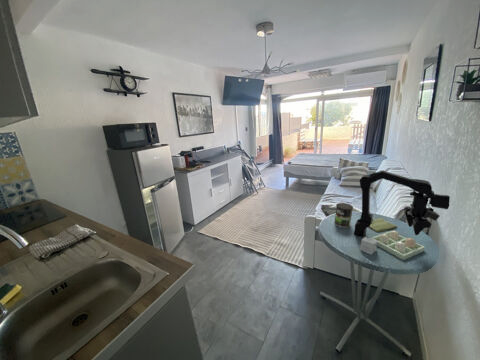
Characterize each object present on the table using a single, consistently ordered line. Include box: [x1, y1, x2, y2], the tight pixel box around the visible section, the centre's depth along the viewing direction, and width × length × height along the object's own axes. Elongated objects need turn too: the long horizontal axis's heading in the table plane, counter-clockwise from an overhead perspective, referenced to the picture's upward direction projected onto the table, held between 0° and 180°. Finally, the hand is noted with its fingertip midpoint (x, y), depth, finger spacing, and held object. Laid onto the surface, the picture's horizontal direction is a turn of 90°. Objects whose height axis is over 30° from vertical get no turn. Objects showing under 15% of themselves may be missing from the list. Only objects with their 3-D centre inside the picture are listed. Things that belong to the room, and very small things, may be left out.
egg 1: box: [379, 233, 389, 245], centre depth 115 cm, size 4×4×6 cm
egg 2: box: [389, 230, 400, 242], centre depth 118 cm, size 4×4×6 cm
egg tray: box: [371, 230, 426, 261], centre depth 114 cm, size 18×18×3 cm
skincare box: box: [359, 235, 378, 255], centre depth 111 cm, size 6×6×7 cm
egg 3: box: [395, 242, 406, 254], centre depth 108 cm, size 4×4×6 cm
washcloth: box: [368, 217, 398, 233], centre depth 135 cm, size 13×18×3 cm
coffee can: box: [334, 202, 354, 229], centre depth 139 cm, size 10×10×14 cm
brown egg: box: [405, 237, 417, 250], centre depth 111 cm, size 4×4×6 cm
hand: (413, 230), depth 109 cm, fingers open, 9 cm apart
